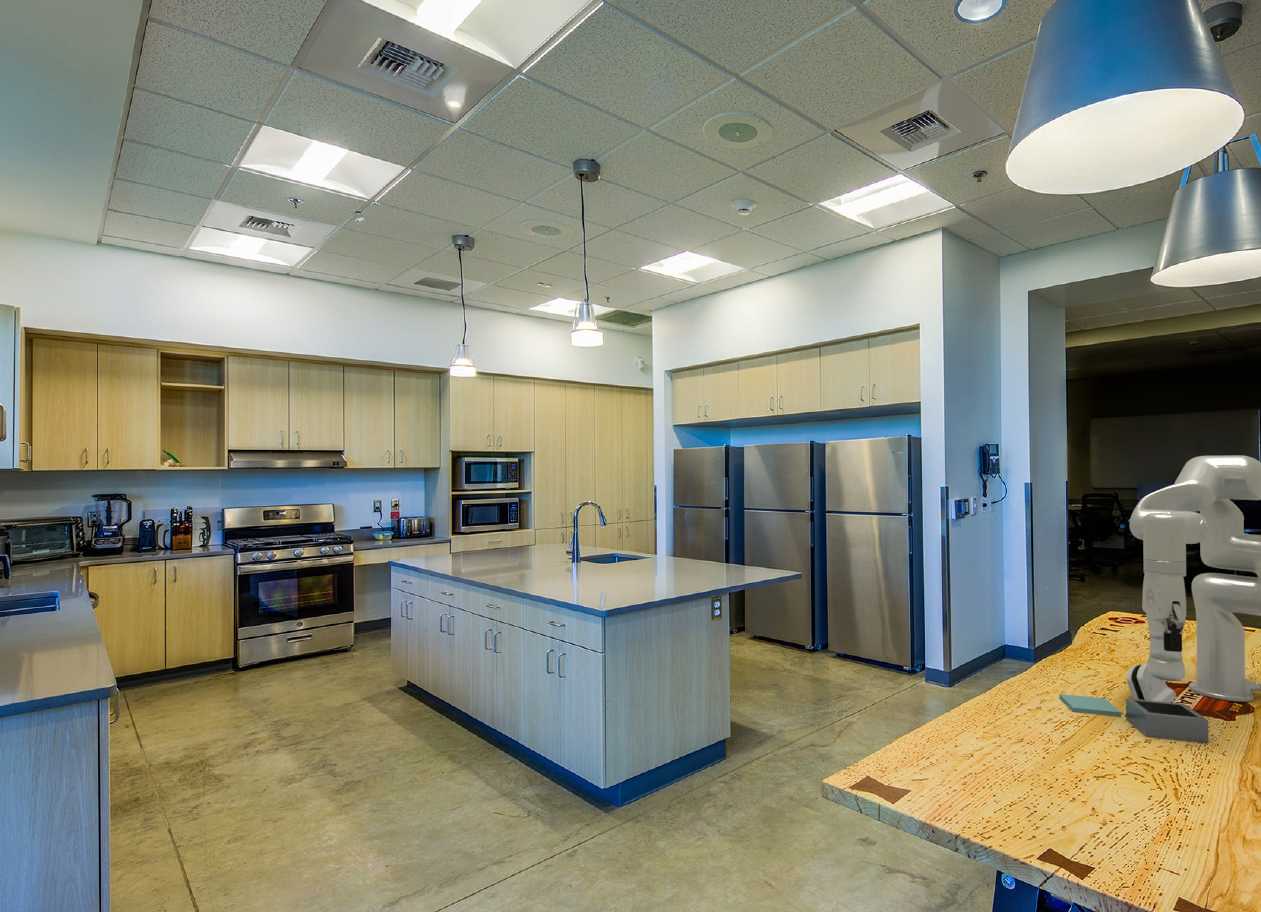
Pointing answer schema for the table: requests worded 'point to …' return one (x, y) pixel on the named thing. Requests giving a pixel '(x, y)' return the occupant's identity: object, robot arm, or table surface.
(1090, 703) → the board
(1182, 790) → the table surface
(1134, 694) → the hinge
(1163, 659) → the plastic bottle
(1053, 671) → the table surface
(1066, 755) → the table surface
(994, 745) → the table surface
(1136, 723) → the square socket
